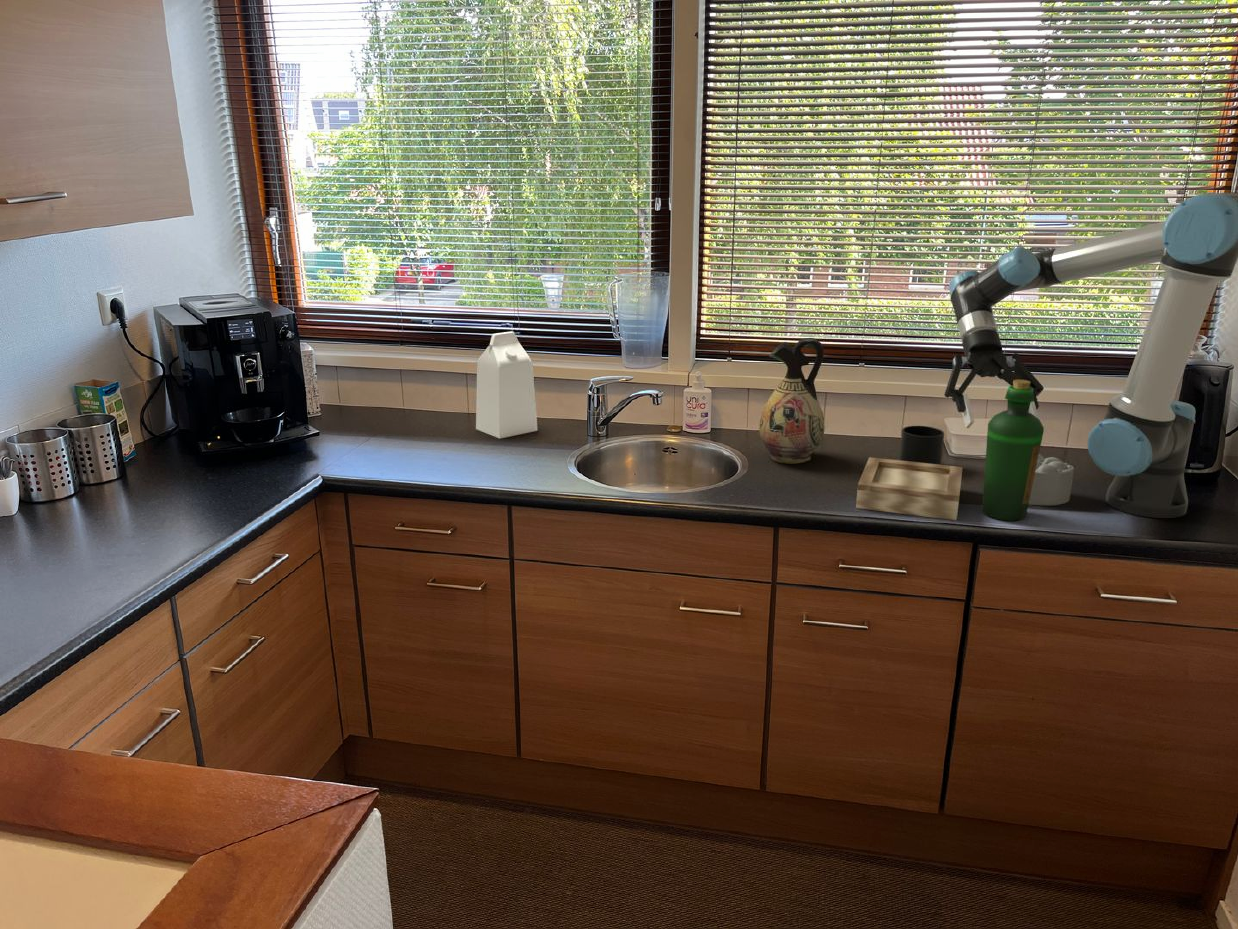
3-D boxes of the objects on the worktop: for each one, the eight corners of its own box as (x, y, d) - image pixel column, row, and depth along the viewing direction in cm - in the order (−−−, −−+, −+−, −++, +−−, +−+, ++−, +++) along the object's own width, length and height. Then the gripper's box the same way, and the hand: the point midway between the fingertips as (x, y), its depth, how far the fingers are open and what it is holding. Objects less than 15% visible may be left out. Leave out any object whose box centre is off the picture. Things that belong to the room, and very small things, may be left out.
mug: (929, 458, 234) (932, 422, 232) (945, 474, 223) (950, 436, 220) (890, 458, 234) (893, 422, 231) (905, 474, 223) (909, 436, 220)
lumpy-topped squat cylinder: (999, 488, 214) (1004, 450, 211) (1059, 489, 213) (1065, 452, 210) (1014, 504, 204) (1019, 465, 201) (1077, 506, 203) (1083, 467, 200)
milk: (513, 421, 265) (510, 327, 257) (537, 430, 257) (535, 333, 249) (476, 429, 258) (471, 332, 250) (499, 438, 249) (495, 339, 241)
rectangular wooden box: (959, 489, 213) (962, 467, 211) (956, 520, 195) (959, 496, 193) (867, 478, 219) (869, 457, 218) (855, 507, 202) (857, 484, 200)
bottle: (1043, 519, 195) (1063, 385, 187) (1002, 526, 192) (1020, 389, 183) (1005, 502, 205) (1022, 373, 196) (965, 509, 201) (981, 377, 192)
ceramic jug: (754, 466, 228) (760, 340, 219) (761, 447, 242) (767, 329, 233) (827, 471, 224) (837, 344, 215) (830, 452, 239) (839, 332, 229)
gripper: (1028, 346, 210) (1053, 432, 201) (917, 347, 208) (936, 434, 199) (1044, 326, 203) (1070, 414, 194) (928, 327, 202) (949, 416, 192)
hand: (1002, 424), depth 196 cm, fingers open, 13 cm apart
